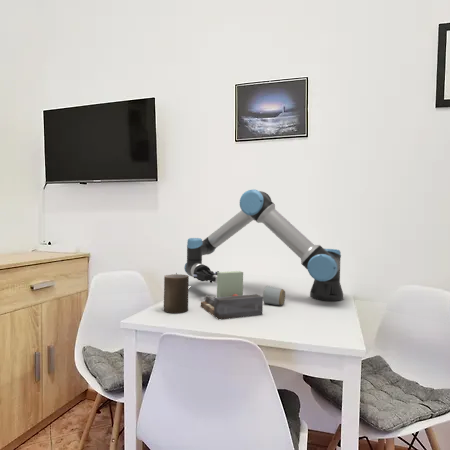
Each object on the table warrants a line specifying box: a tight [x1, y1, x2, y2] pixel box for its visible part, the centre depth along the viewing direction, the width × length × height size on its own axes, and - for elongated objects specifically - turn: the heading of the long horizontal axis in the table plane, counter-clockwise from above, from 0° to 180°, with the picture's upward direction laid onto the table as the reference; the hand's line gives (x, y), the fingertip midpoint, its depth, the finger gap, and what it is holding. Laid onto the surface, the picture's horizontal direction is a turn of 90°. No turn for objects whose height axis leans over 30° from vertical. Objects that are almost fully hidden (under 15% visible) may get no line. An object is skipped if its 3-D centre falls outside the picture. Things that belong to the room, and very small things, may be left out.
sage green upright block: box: [216, 270, 244, 297], centre depth 145 cm, size 3×10×13 cm, turn 114°
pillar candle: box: [163, 272, 190, 314], centre depth 143 cm, size 10×10×15 cm
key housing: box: [200, 293, 264, 320], centre depth 144 cm, size 20×18×8 cm
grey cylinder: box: [262, 285, 286, 306], centre depth 157 cm, size 11×8×8 cm
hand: (220, 280), depth 152 cm, fingers closed
